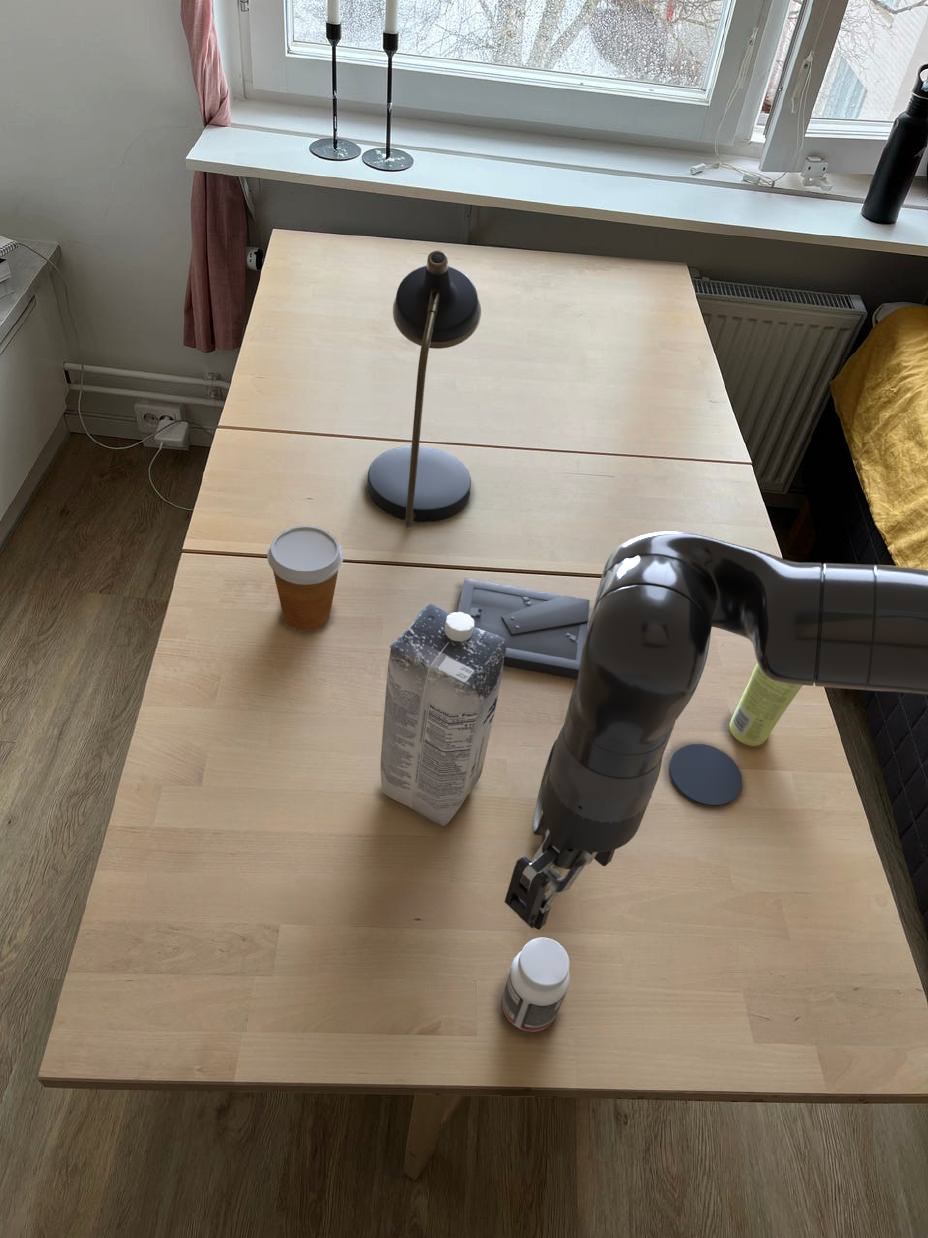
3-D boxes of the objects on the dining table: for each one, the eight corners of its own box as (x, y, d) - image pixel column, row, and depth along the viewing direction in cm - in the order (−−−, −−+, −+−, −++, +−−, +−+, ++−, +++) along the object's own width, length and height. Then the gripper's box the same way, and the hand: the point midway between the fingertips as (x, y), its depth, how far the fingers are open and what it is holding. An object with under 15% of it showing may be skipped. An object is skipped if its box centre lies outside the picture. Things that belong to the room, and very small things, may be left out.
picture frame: (587, 609, 136) (463, 587, 137) (590, 598, 135) (464, 576, 135) (581, 680, 127) (448, 656, 127) (584, 669, 125) (450, 645, 126)
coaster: (755, 778, 119) (756, 776, 119) (714, 820, 114) (715, 818, 114) (696, 733, 123) (697, 731, 123) (654, 772, 118) (655, 770, 118)
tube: (766, 717, 126) (822, 613, 112) (775, 748, 123) (834, 646, 108) (724, 715, 125) (775, 610, 111) (732, 746, 122) (786, 643, 108)
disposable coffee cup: (256, 622, 128) (251, 555, 119) (295, 579, 134) (293, 513, 126) (318, 650, 126) (318, 584, 117) (355, 605, 132) (357, 539, 123)
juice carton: (448, 839, 109) (475, 686, 89) (369, 795, 111) (379, 637, 92) (485, 783, 114) (519, 628, 95) (410, 743, 117) (427, 584, 98)
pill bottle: (565, 992, 98) (584, 949, 91) (545, 1044, 94) (563, 1003, 87) (513, 967, 99) (528, 922, 92) (491, 1016, 95) (505, 974, 88)
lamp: (475, 461, 157) (508, 230, 130) (461, 549, 142) (494, 309, 114) (377, 446, 157) (389, 212, 130) (352, 533, 142) (360, 288, 114)
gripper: (577, 869, 64) (543, 976, 75) (701, 753, 72) (652, 866, 83) (496, 798, 67) (474, 910, 79) (621, 694, 75) (585, 810, 86)
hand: (565, 887), depth 81 cm, fingers open, 8 cm apart
